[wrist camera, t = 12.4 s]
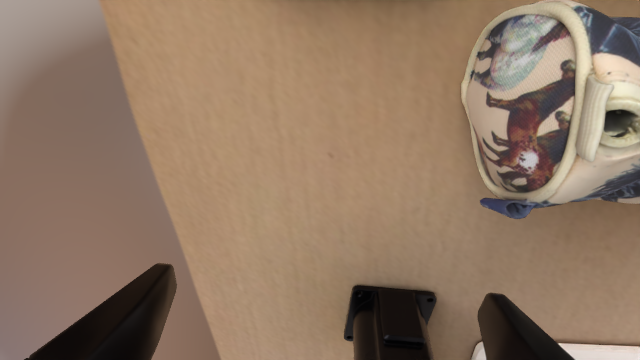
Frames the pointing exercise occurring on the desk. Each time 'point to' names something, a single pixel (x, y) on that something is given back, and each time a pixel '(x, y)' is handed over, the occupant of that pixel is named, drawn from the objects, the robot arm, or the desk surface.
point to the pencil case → (555, 107)
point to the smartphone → (584, 352)
